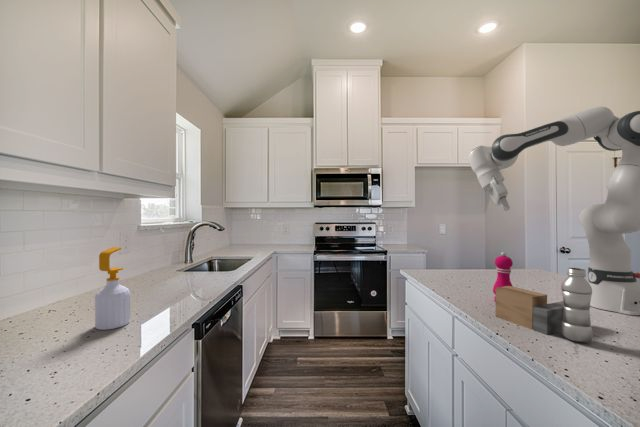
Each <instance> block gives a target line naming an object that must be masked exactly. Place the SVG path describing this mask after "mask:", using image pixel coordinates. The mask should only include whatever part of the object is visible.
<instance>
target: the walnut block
mask: <svg viewBox="0 0 640 427" xmlns="http://www.w3.org/2000/svg"><path fill="white" fill-rule="evenodd" d="M495 296H496V302H495V317H496V318H497V319H498V318H499V319H501V320H504V321H507V322H510V323H512V324H515V325H517V326H520V327H524V328H527V329H529V330H531V331H534V330H533V307H534V306H539V305H545V304H548V295H547V294H545V293H542V292H541V293H540V292H537V291H534V290H533V291H532V290H529V289H524V288H519V287H517V286H513V285H512V286H504V287H497V288H496V295H495Z"/></svg>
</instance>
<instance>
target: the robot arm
mask: <svg viewBox="0 0 640 427" xmlns="http://www.w3.org/2000/svg"><path fill="white" fill-rule="evenodd" d="M592 138H593V139H594V140H595V141H596V142H597V144H598V145H599V146H600V147H601V148H602V149H603V150H606V151H610V152H612V151H613V152H616V151H621V154H622V155H621V159H620V161H619V162H618V164H617V165H616V167H615V169H614V171H613V173H612V174H611V176H610V178H609V180H608V182H607V184H606V188H607V196H606V200H605V202H604V203H597V204H593V205H590V206H587V207H585V208H584V209H582V210H581V212H580V213H579V217H578V219H579V223H581V225H582V227H583V228H584V232H585V235H586V239H587V242H588V247H589V267H588V268H587V269H588V270H587V280H588V283H589V284H590V286H591V288H592V296H591V302H590V307H592V308H596V309H600V310H604V311H610V312H614V313H620V314H624V315H629V316H640V283H639V282H638V280H637V279H640V272H636V273H635V272H633V271H632V251H631V248H630V247H629V245H628V244H627V243H626V240H625V238H624V235H625V234H631V233H635V232H638V231H640V110H636V111H631V112H629V113H627V114H625V115H624V116H621V117H617V116H616V115H614V112H613V111H612V110H611V109H610V108H608V107H607V106H597V107H593V108H589V109H586V110H583V111H579V112H576V113H573V114H570V115H569V116H567V117H563V118H561V119H558V120H556V121H553V122H550V123H549V122H548V123H547V124H543V125H541V126H538V127H535V128H532V129H528V130H525V131H523V132H518V133H507V134H504V135H500V136H498V137H496V139H494V141H493V143H492V145H491V146H487V145H485V146H484V145H478V146H476V147H475V148H473V149H472V150H471V151H470V152H469V154H468V156H467V160H468V163H469V165H470V168H471V170H472V171H473V173H475V175H476V178H477V181H478V183H479V185H480V187H481V189H482V190H484V192H485V193H486V192H487V194H488V196H489V197H490V199H491V200H492V201H493V203H494V205H496V206H501V207H502V208H503V210H504V211H505V212H507V211H509V210H510V208H511V207H510V205H509V202H508V200H507V196H508V194H509V192H508V189H507V187H506V185H505V184H504V181H505V177H504V176H503V174H502V173H501V171H500V170H504V169H507V168H508V169H509V168H510V167H512V166H513V165H514V164H515V163H516V162H517V159H518V158H519V155H520V154H521V153H522V152H523V151H524V150H525V149H528V148H531V147H534V146H537V145H541V144H543V143H546V142H552V143H553V144H554V145H557V146H559V147H567V146H570V145H574V144H577V143H579V142H583V141H585V140H589V139H592Z"/></svg>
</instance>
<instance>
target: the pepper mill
mask: <svg viewBox="0 0 640 427" xmlns="http://www.w3.org/2000/svg"><path fill="white" fill-rule="evenodd" d="M513 264H514V263H513V260H512V258H510V257H509V256H507V253H506V252H505V251H502V252H501V253H500V255H499V256H497V257H495V259H494V265H495V266H496V270H495V272H497V277H496V280H495V283H494V285H493V287H492V292H493V294H494V298H493V301H494V302H495V303H496V288H497V287H504V286H513V284H512V282H511V278H510V276H511V273H512V266H513Z"/></svg>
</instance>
